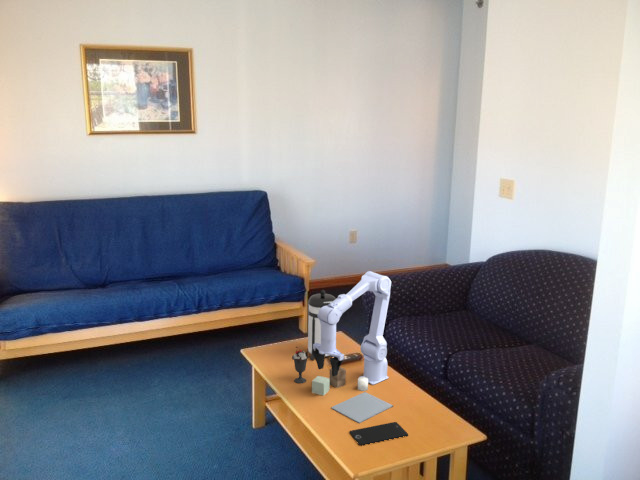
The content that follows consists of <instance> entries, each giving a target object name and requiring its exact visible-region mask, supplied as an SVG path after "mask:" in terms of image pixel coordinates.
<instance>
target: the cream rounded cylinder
mask: <svg viewBox="0 0 640 480" xmlns="http://www.w3.org/2000/svg"><path fill="white" fill-rule="evenodd" d="M357 390H358V391H361V392H366V391H368V390H369V383H368V378H366V377H360V376H359V377H357Z"/></svg>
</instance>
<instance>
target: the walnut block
mask: <svg viewBox="0 0 640 480" xmlns="http://www.w3.org/2000/svg"><path fill="white" fill-rule="evenodd" d="M346 373H347V369H346V368H343V367H342V366H340V368H339V371H338V375H336V376H332V367H331V368H329V377H328V378H329V379H330V386H332V387H335V388H336V389H339V388H341V387H344V386H346V379H347V374H346Z"/></svg>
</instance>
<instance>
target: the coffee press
mask: <svg viewBox="0 0 640 480" xmlns="http://www.w3.org/2000/svg"><path fill="white" fill-rule="evenodd" d="M335 299H336V297H335V296H334V295H332V294H329V293H326V290H324V289H321V290H320V291H319V293H316V294H313V295H311V296H310V297H309V298H308V300H307V305H308V309H307V315H308V321H307V322H308V323H307V325H308V326H307V327H308V328H307V329H308V330H307V335H308V336H307V351H308V353H309V354H310V356H309V359H310V361H314V360H316V359H315V357H314V355H313V354H312V352H313V351H315V349H313V344H315V343H319V344H321V324H320V320H319V318H318V316H317V314H318V313H319V310H320V308H322V307H323V306H328V305H329V304H330V303H332V302H333V301H334V300H335ZM325 357H330V358H331V357H333V356H331V355H327V354H325Z"/></svg>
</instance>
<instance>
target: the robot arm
mask: <svg viewBox="0 0 640 480" xmlns="http://www.w3.org/2000/svg"><path fill="white" fill-rule="evenodd" d="M391 286H392V281H391V279H390V278H389V276H387V275H383V274H379V273H376V272H373V271H372V270H371V271H370V270H367V272H365V274H363V275H362V276H361V279H360V280H359V282H358V283H356V285H354V286H353V287H352V289H351V290H349V291H348V292H347V293H346V294H345V293H342V294H339V295H337V298H336V297H335V298H336V299H335V300H334V301H333V302H332V303H330V304H329V305H328V306H323V307H322V308H320V310H319V313H318V314H317V316H318V318H319V320H320V324H321V344H319V343H315V344H313V349H315V351H313V352H312V354H313V355H314V357H315V359H314V360H315V361H316V364H317V370H322V369H324V366H325V357H326V356H325V354H327V355H331V356H333V357H334V358H331V359H329V362H330V367H331V368H332V376H336V375H338V371H339V368H340V367H341V365H342V363H343V362H344V360H345V354H344V353H342V352H341V351H340V350H338V349H337V323H339V321H340V319H341V317H342V315H343V314H344V313H345V312H346V311H347V310H349V309H350V308H351V307H352V306H353V302H354V301H355V300H356V299H358V298H359V297H360V296H362V295H364V294H365V293H366V292H372V293H373V294H374V296H375V298H374V303H373V309H372V310H373V311H372V315H371V319H370V327H369V331H368V334H366V335H365V336H363V341H362V343H361V344H360V352H361V354H362V357H363V358H364V359H363V360H364V361H363V375H360V376H359V377H366V378H368V384H370V385H372V386H374V385H376V384H379V383H380V382H383V381H385V380H387V379H389V377H390V376H388V360H387V354H388V349H387V345H388V343H387V340H386V339H385V337H384V336H383V335H384V330H385V324H386V319H387V313H388V308H389V302H390V297H391V288H392V287H391Z"/></svg>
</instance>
